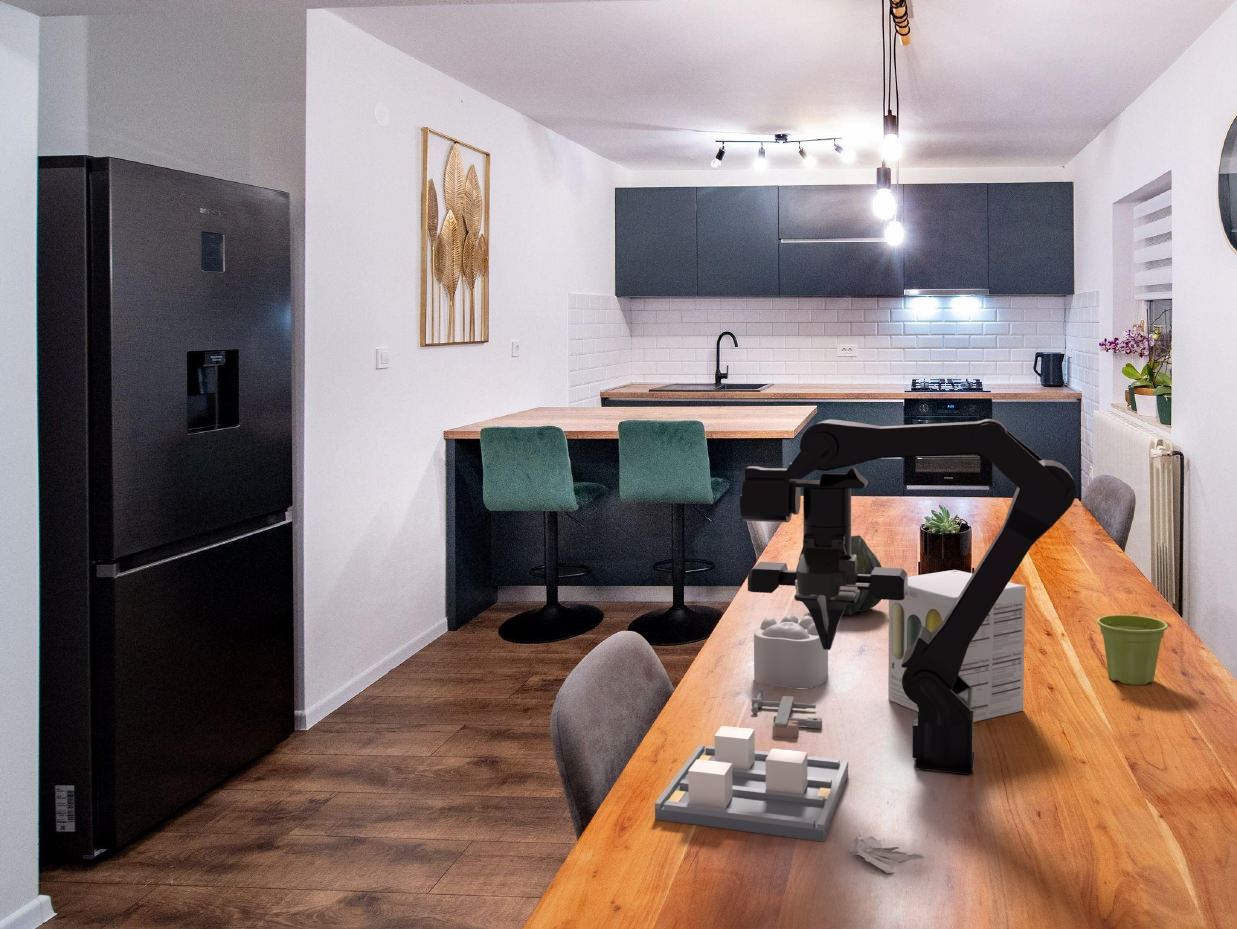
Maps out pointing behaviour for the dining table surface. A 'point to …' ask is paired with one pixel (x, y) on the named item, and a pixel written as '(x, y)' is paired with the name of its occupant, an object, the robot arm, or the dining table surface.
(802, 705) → the clamp
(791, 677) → the lumpy-topped squat cylinder
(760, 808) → the grey tray
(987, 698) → the supplement box
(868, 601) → the squash
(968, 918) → the dining table surface
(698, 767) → the beige block
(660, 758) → the dining table surface
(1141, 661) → the plant pot
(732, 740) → the white block
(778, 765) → the beige block
